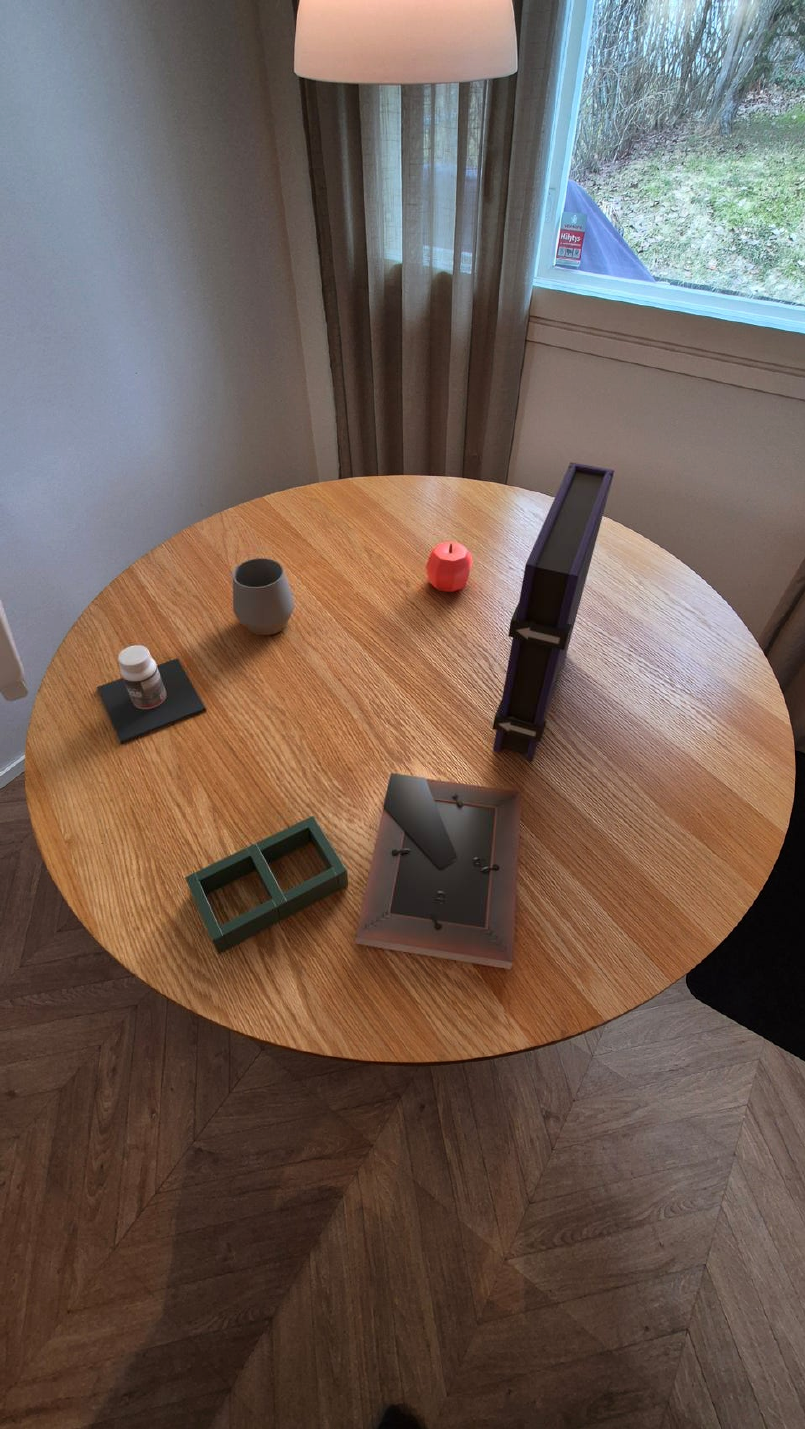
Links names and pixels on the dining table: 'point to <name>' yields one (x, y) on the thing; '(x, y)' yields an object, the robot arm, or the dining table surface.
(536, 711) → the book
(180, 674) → the mat
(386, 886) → the picture frame
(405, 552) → the dining table surface
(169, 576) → the dining table surface
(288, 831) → the holder
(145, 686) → the pill bottle
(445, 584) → the apple
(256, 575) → the cup
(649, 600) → the dining table surface
